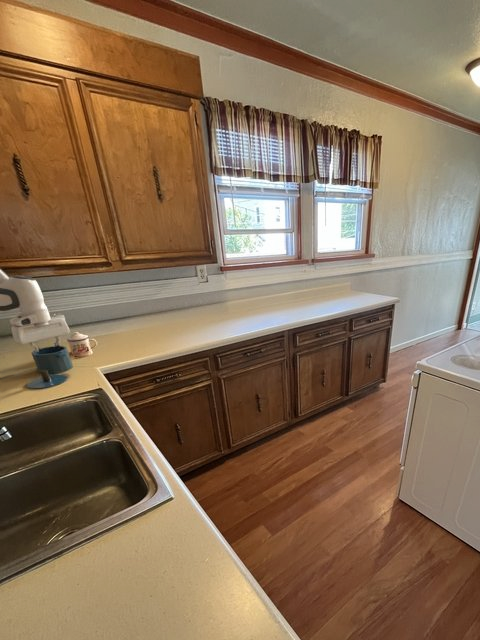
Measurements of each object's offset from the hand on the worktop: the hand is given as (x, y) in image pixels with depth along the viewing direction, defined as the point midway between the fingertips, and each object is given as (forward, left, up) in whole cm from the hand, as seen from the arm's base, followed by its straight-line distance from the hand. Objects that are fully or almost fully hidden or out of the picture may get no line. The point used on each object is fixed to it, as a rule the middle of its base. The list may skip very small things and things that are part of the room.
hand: (48, 348), depth 141 cm
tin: (0, 0, -10) cm, 10 cm away
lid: (-10, -12, -10) cm, 18 cm away
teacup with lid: (+20, +10, -10) cm, 25 cm away
